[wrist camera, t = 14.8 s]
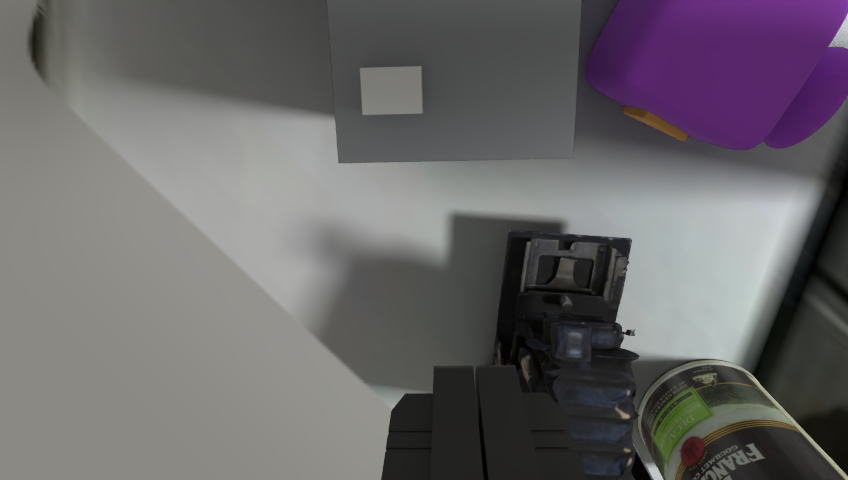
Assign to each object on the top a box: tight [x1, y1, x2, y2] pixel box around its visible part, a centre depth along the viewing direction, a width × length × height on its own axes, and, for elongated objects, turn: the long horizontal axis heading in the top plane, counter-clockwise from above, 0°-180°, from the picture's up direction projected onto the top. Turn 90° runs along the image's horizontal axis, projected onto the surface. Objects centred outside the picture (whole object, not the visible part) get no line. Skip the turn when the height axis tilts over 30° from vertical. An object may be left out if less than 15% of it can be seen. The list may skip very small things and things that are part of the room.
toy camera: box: [585, 0, 848, 150], centre depth 33 cm, size 11×14×10 cm
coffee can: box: [638, 360, 848, 480], centre depth 39 cm, size 10×10×14 cm
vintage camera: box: [492, 230, 654, 480], centre depth 35 cm, size 10×15×20 cm, turn 176°
